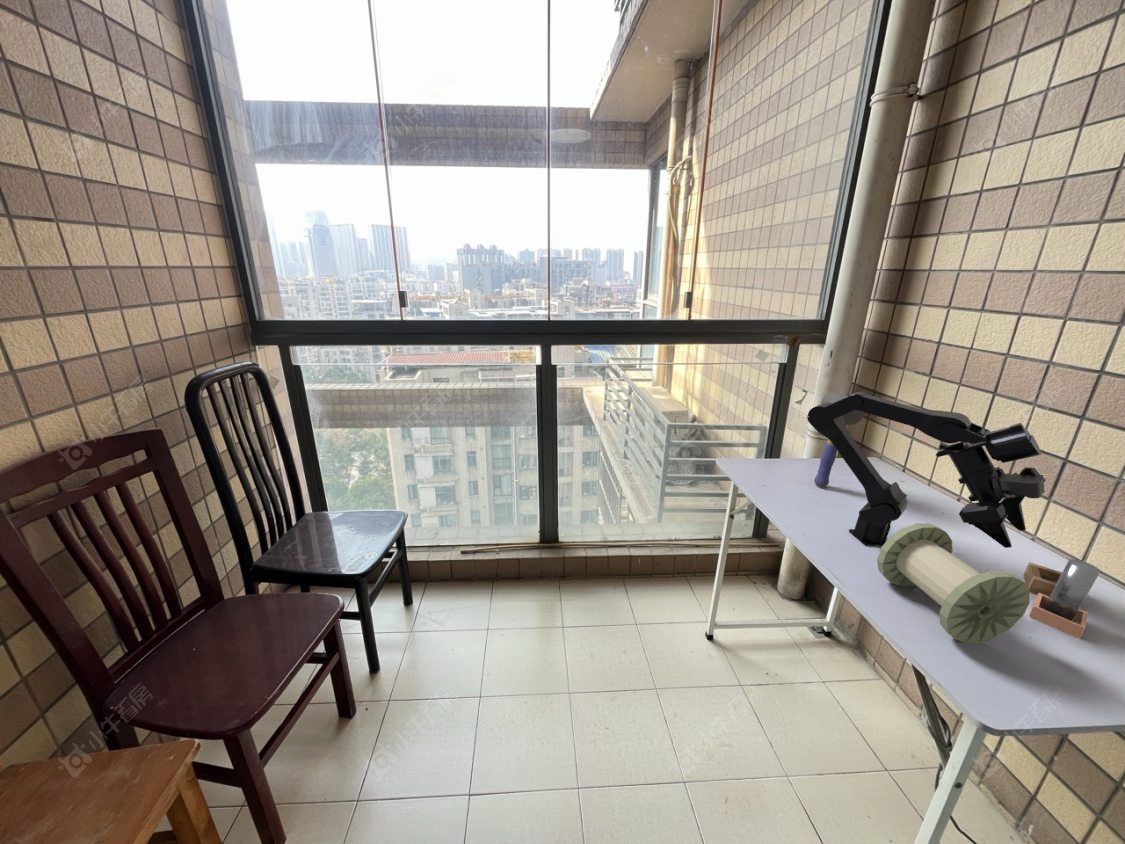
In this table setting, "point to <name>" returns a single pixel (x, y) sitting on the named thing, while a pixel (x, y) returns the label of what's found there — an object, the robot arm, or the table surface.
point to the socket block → (1058, 618)
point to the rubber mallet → (829, 448)
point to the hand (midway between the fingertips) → (1015, 538)
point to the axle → (1071, 588)
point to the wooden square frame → (1040, 579)
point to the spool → (953, 583)
